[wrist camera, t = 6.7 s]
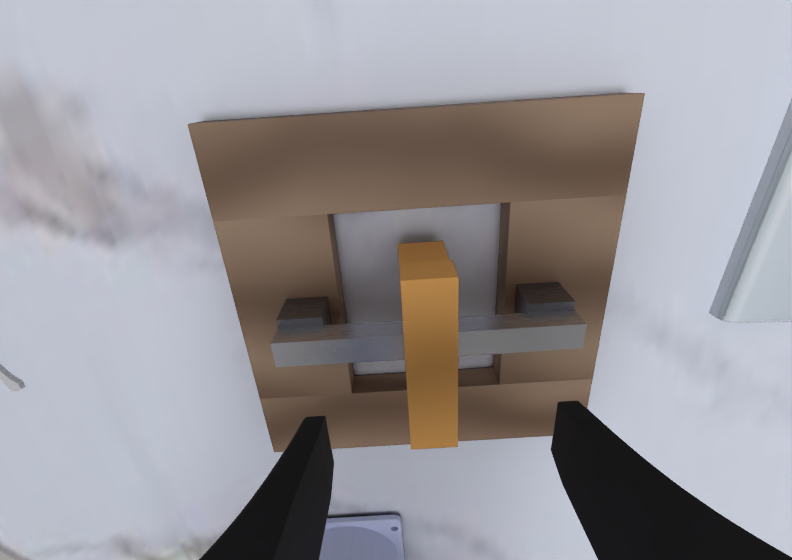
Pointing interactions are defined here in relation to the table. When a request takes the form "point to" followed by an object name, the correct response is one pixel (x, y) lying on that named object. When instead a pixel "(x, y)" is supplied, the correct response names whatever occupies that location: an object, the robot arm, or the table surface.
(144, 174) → the table surface
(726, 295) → the hard drive
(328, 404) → the brown wooden frame
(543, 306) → the hook bar
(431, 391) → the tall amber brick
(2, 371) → the scissors
